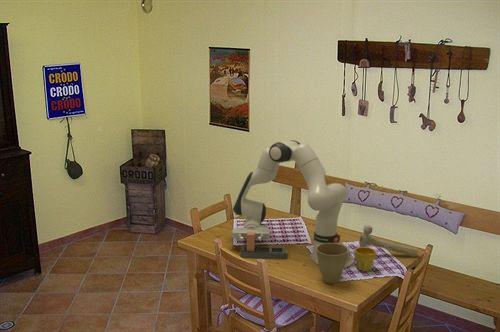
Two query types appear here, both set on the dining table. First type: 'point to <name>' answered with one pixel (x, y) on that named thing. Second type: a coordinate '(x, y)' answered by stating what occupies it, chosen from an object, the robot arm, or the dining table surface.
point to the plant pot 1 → (331, 261)
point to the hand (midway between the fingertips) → (250, 239)
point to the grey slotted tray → (264, 252)
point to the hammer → (384, 243)
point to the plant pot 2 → (365, 258)
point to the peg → (251, 241)
